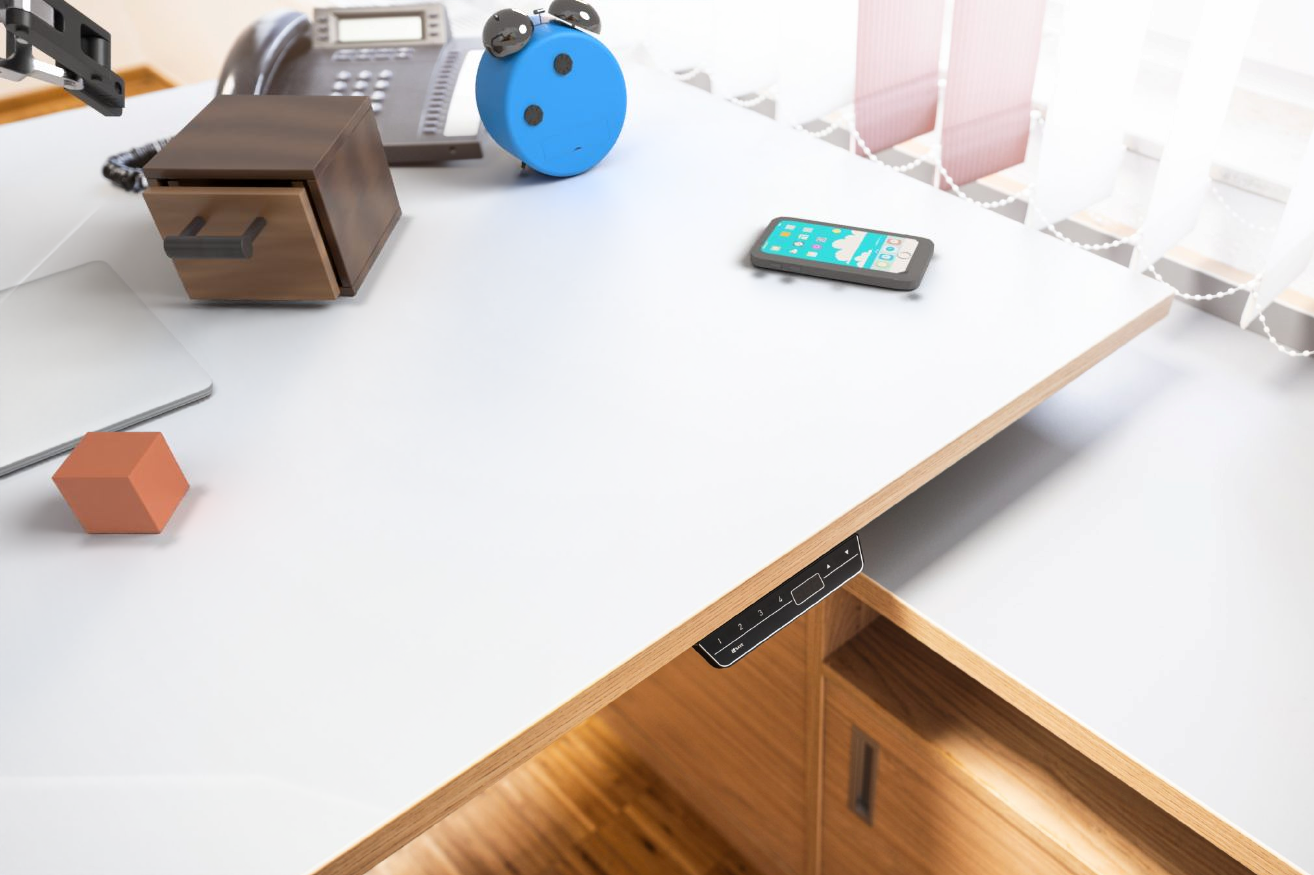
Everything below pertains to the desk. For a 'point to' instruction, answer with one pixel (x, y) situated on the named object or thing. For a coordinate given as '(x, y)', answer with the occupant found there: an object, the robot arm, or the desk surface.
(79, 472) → the block
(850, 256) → the smartphone
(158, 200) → the drawer
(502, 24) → the alarm clock
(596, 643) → the desk surface
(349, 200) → the cabinet
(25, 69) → the robot arm
